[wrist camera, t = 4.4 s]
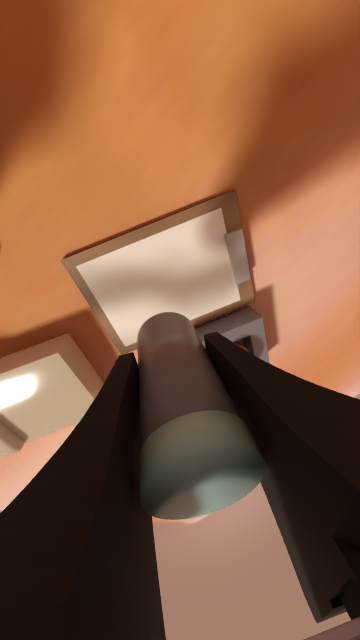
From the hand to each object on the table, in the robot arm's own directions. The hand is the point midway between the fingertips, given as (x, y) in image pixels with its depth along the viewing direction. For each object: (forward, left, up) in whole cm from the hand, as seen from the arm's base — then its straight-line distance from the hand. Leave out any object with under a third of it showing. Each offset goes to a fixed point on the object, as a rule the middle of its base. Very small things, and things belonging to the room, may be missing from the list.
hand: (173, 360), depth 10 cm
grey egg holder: (+8, +4, -9) cm, 12 cm away
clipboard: (-1, +1, -9) cm, 9 cm away
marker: (0, 0, -2) cm, 2 cm away
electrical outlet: (+3, -17, -9) cm, 20 cm away
